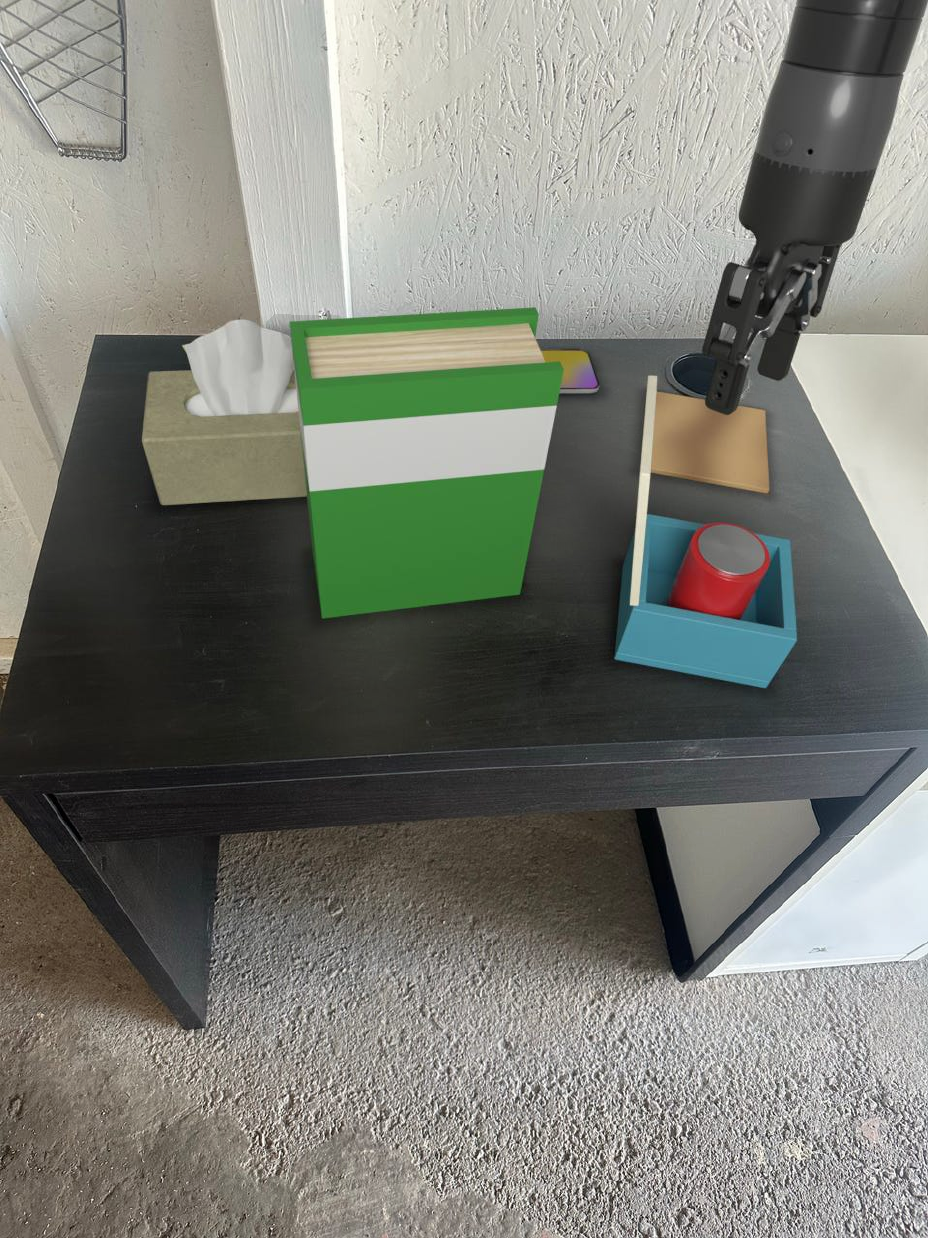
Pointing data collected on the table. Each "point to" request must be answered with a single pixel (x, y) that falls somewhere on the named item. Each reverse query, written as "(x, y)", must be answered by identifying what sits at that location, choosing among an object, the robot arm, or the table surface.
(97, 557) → the table surface
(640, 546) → the lid
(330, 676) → the table surface
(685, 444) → the cork mat
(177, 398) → the tissue box
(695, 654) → the teal open box
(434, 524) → the hardback book
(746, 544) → the drinks can
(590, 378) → the smartphone
